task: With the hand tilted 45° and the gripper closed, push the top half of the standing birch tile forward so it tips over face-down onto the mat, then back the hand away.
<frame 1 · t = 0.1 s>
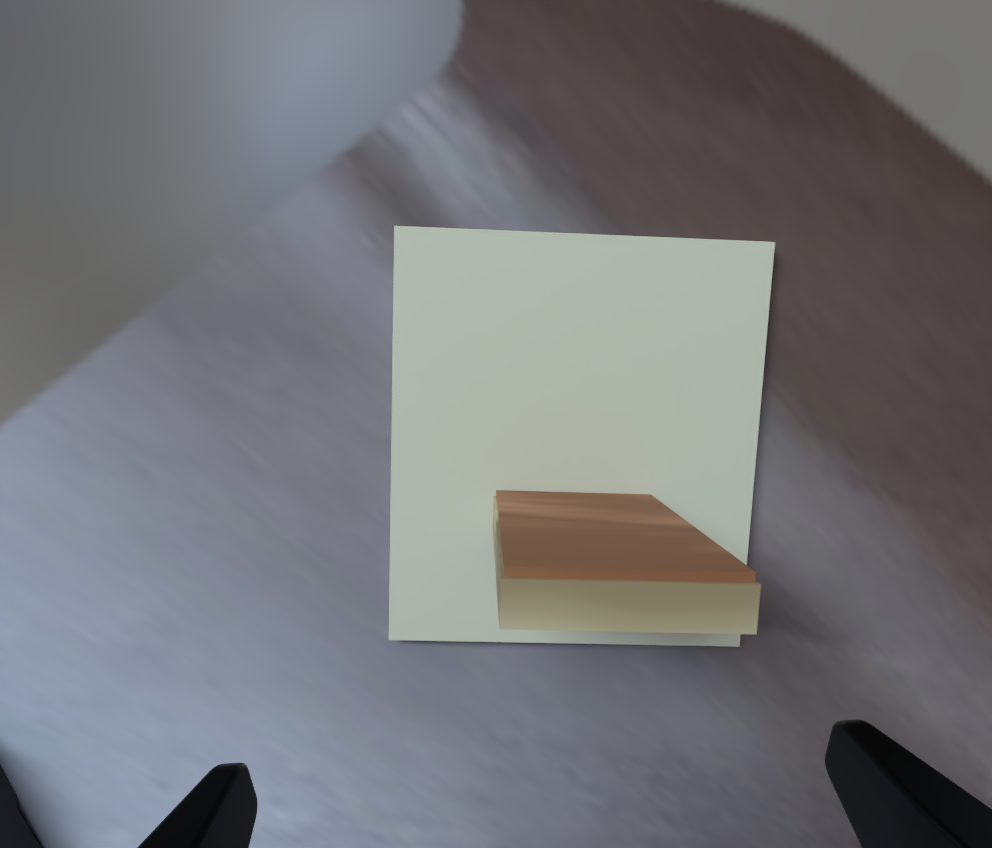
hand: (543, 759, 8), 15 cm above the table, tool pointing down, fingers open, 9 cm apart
mat: (573, 445, 23), on the table
tile: (572, 513, 23), point 1 cm above the table, touching mat
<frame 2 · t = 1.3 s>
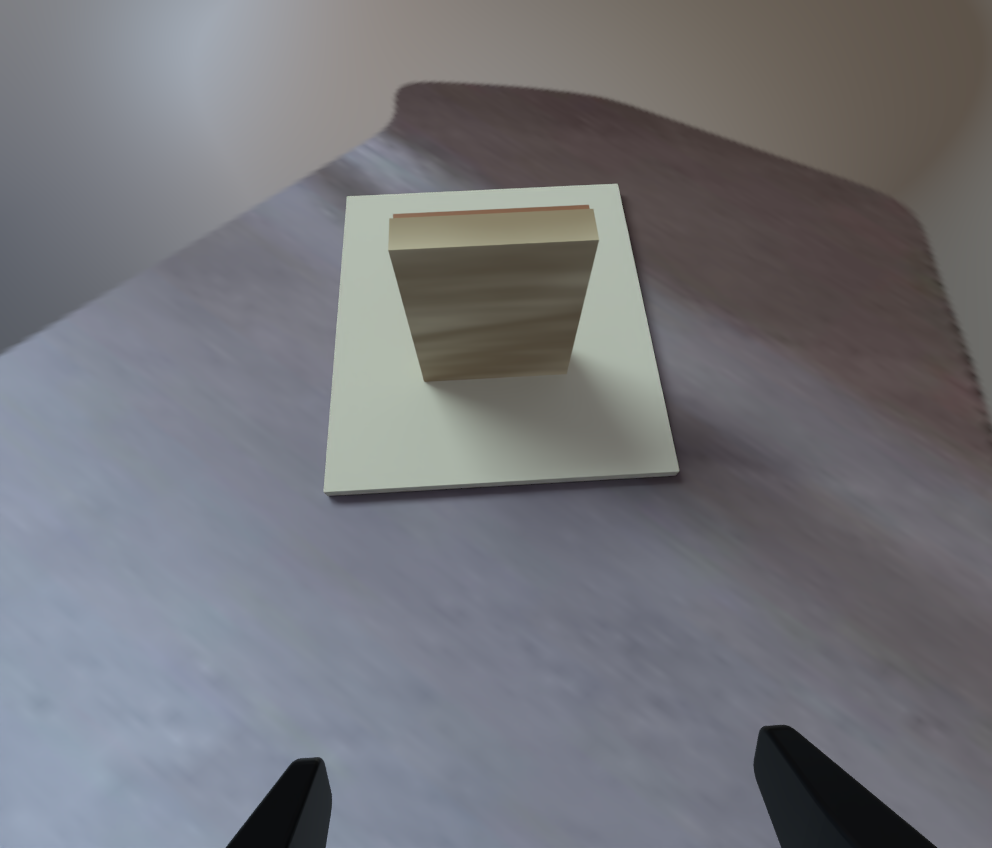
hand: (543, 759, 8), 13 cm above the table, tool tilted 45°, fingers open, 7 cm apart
mat: (491, 322, 27), on the table
tile: (494, 365, 26), point 1 cm above the table, touching mat
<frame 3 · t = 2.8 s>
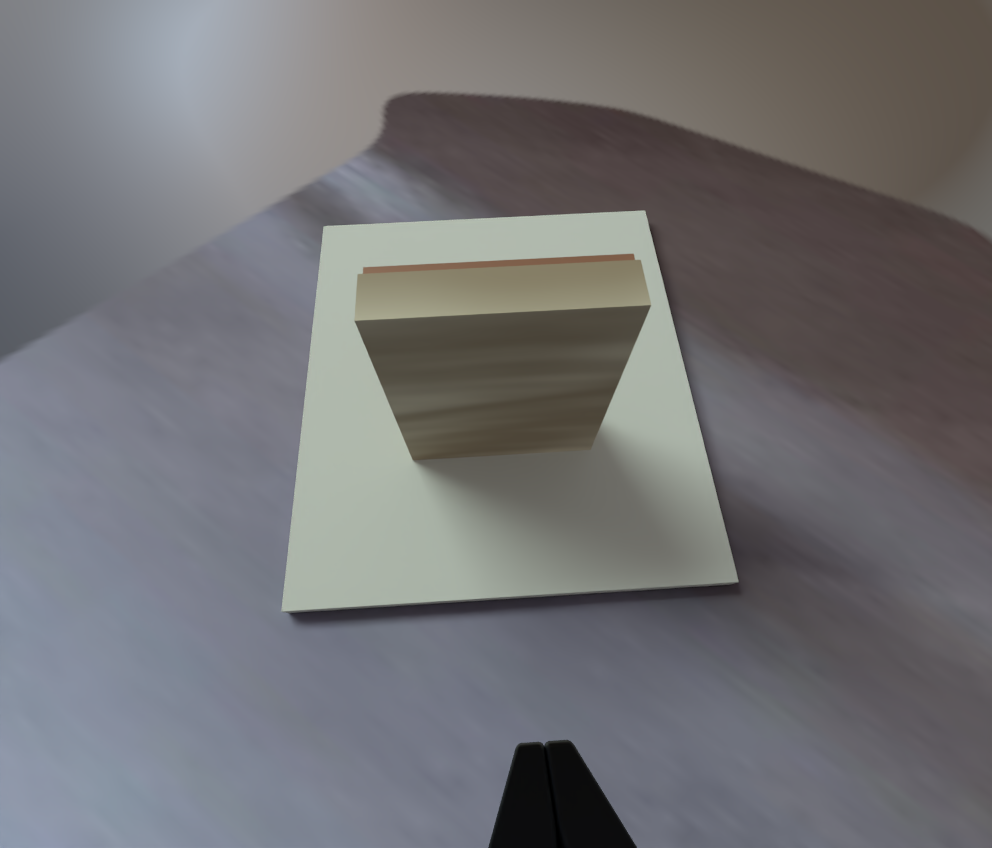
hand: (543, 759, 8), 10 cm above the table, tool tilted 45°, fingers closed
mat: (496, 381, 22), on the table
tile: (500, 438, 21), point 1 cm above the table, touching mat
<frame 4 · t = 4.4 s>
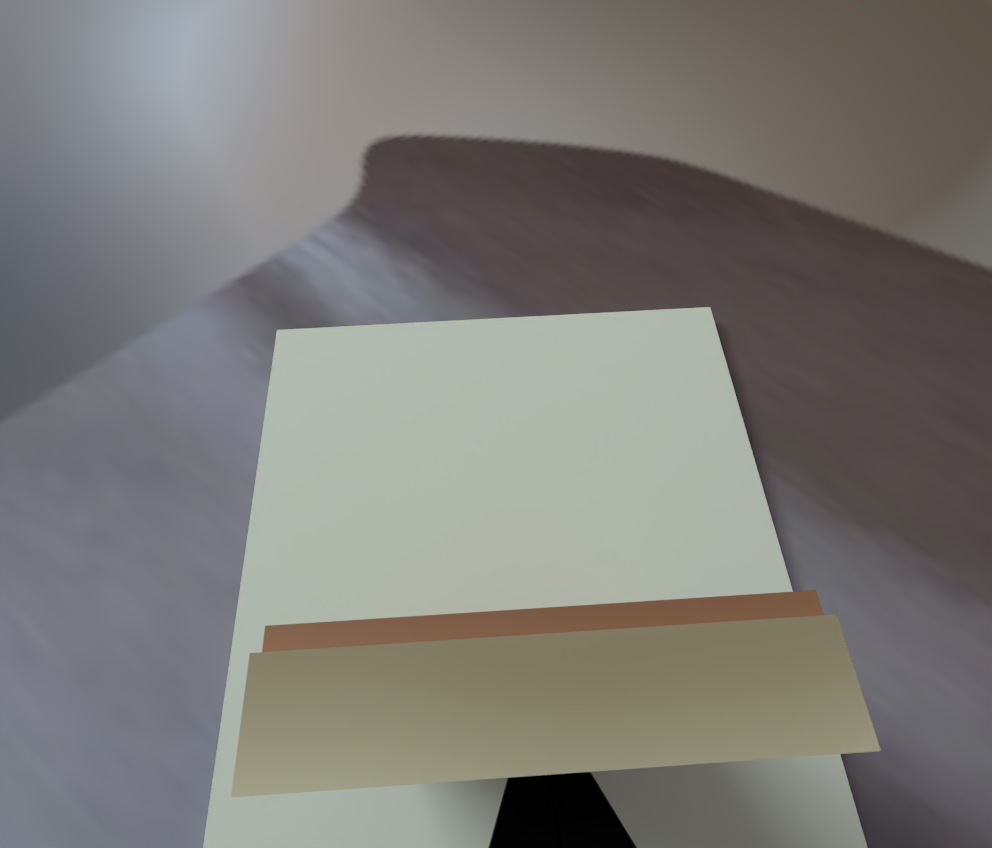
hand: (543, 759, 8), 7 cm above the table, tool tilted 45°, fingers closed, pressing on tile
mat: (513, 571, 16), on the table
tile: (521, 680, 14), point 1 cm above the table, touching gripper, mat
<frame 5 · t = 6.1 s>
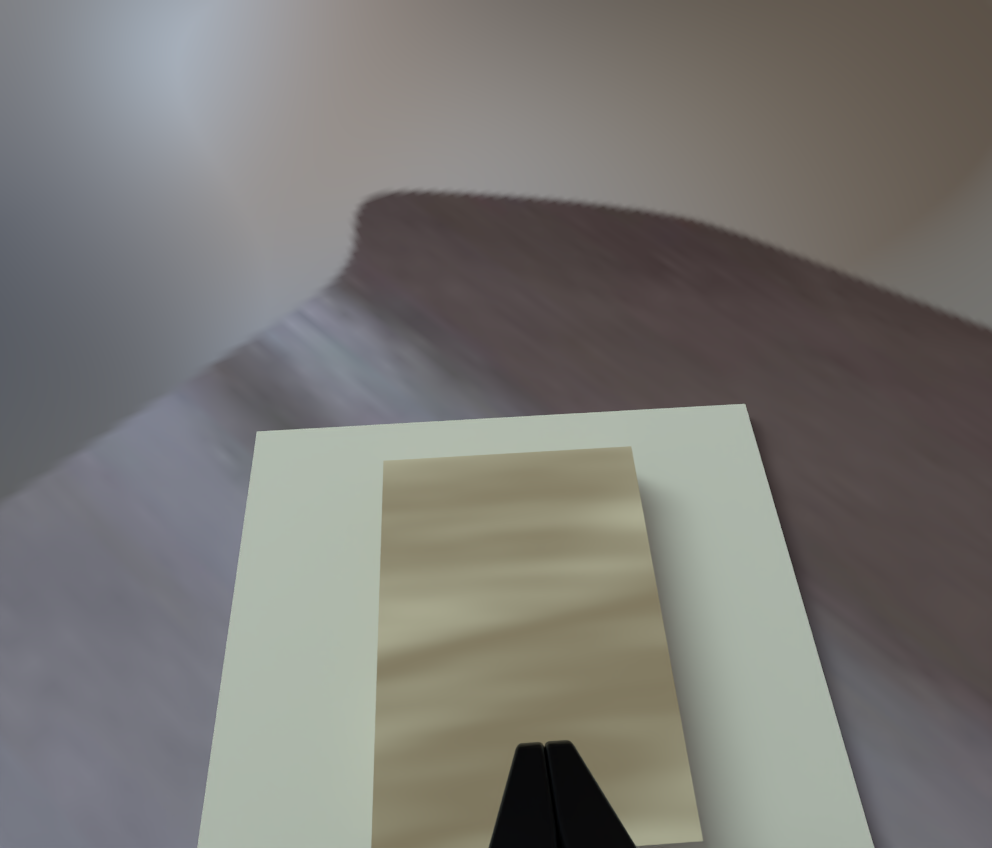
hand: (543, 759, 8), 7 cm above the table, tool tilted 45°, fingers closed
mat: (525, 733, 14), on the table
tile: (535, 842, 11), point 2 cm above the table, tilted 90°, touching mat
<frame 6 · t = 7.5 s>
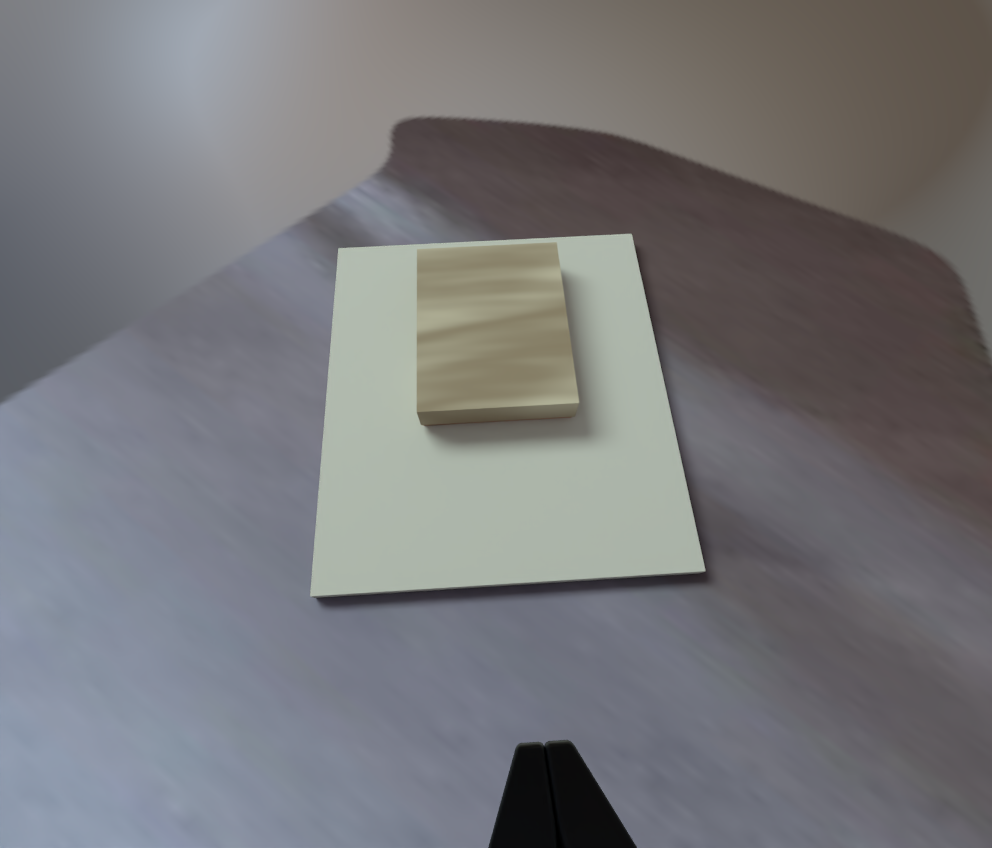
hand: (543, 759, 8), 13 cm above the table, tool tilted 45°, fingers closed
mat: (496, 392, 25), on the table
tile: (498, 414, 23), point 2 cm above the table, tilted 90°, touching mat
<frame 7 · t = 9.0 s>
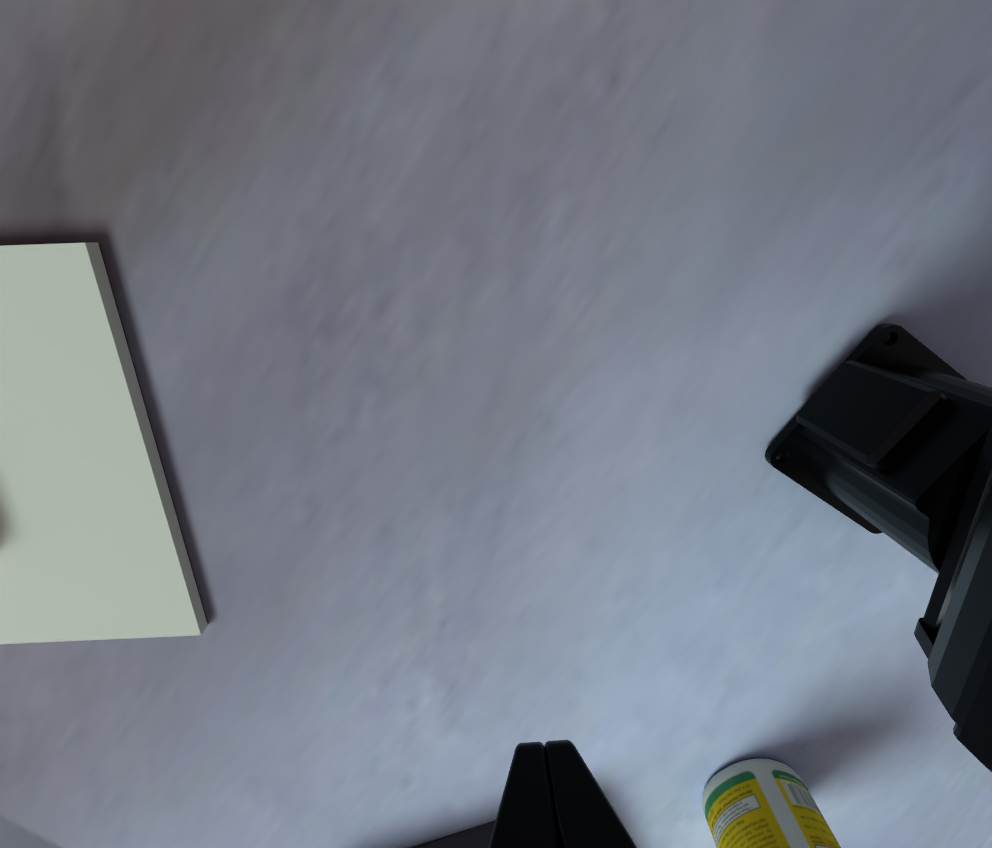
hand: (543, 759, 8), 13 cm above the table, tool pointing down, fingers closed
supplement bottle: (746, 786, 28), on the table
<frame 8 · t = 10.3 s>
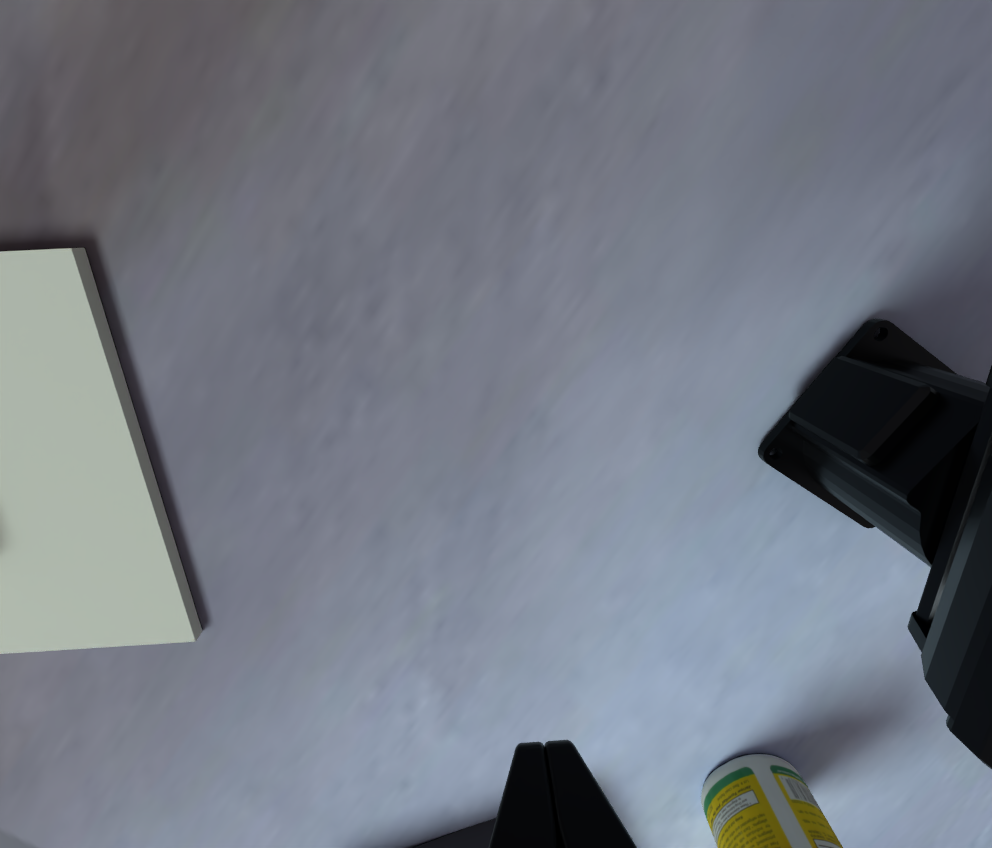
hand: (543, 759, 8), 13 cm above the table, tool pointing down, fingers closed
supplement bottle: (745, 781, 28), on the table
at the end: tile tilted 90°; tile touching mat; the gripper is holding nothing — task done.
